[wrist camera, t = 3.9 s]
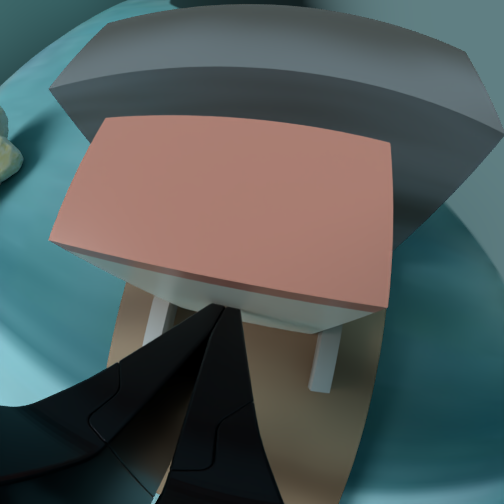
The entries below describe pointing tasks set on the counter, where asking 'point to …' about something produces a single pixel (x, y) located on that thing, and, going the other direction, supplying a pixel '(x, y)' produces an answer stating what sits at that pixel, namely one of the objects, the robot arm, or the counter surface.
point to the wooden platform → (309, 114)
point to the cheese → (7, 151)
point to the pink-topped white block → (237, 216)
